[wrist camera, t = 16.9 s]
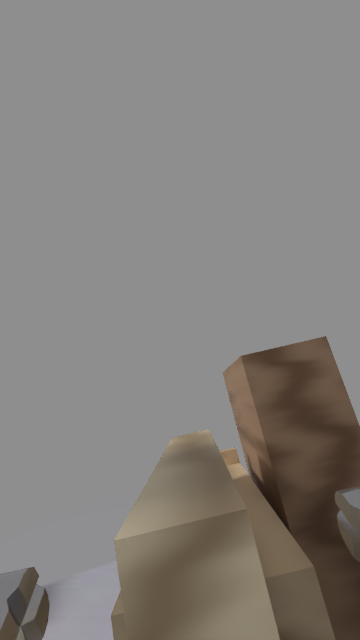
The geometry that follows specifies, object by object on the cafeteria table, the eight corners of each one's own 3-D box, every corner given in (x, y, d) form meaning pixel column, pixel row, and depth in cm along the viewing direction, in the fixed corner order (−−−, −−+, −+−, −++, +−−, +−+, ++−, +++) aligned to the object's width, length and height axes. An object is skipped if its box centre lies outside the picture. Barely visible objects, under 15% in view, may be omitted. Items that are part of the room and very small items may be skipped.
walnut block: (355, 781, 17) (236, 356, 24) (276, 595, 33) (219, 373, 40) (490, 747, 17) (333, 334, 24) (346, 578, 33) (277, 360, 40)
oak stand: (195, 1277, 8) (105, 574, 13) (194, 643, 29) (160, 464, 34) (498, 1194, 8) (302, 527, 13) (279, 622, 29) (234, 447, 34)
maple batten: (151, 814, 6) (114, 540, 7) (183, 497, 25) (172, 437, 27) (313, 773, 6) (246, 508, 7) (222, 488, 25) (208, 429, 27)
